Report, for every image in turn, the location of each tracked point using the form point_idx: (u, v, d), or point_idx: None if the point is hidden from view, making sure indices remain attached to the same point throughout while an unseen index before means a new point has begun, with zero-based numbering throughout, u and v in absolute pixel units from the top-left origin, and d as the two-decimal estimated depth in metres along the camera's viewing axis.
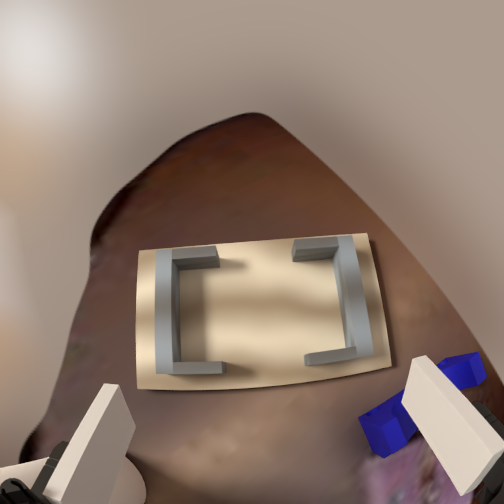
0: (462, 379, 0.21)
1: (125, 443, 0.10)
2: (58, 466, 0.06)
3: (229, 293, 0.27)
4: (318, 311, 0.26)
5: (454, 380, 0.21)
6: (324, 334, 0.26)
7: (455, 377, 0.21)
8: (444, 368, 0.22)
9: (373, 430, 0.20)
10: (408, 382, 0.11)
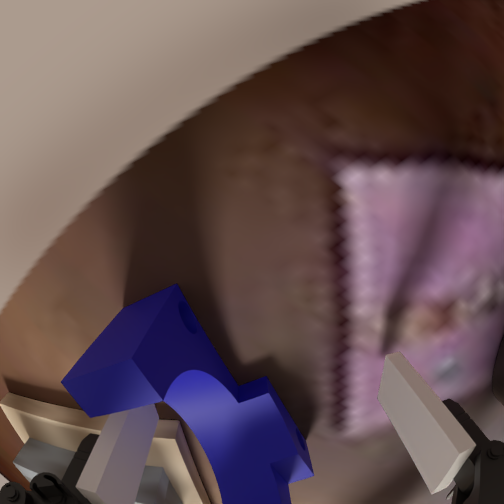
0: None
1: (150, 433, 0.11)
2: (90, 458, 0.06)
3: None
4: None
5: None
6: None
7: None
8: None
9: None
10: (382, 378, 0.12)
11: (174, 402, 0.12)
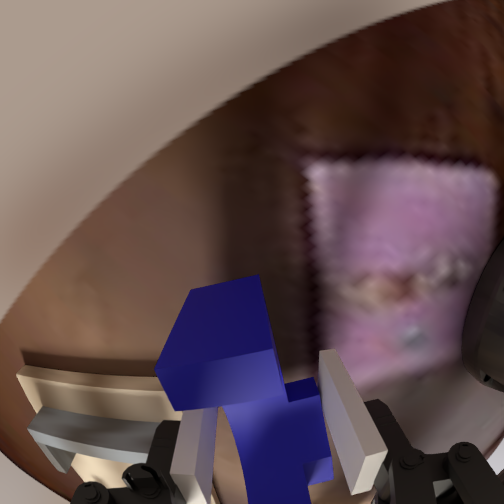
0: None
1: (215, 416, 0.12)
2: (178, 442, 0.08)
3: None
4: None
5: None
6: None
7: None
8: None
9: None
10: (319, 373, 0.13)
11: None
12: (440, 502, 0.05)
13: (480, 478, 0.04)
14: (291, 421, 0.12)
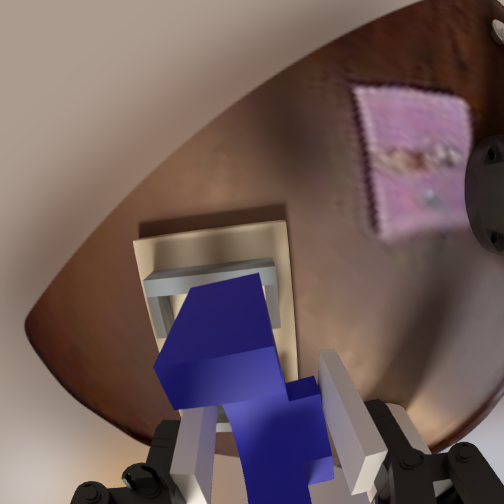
0: None
1: (215, 416, 0.12)
2: (178, 442, 0.08)
3: None
4: None
5: None
6: None
7: None
8: None
9: None
10: (319, 373, 0.13)
11: None
12: (440, 502, 0.05)
13: (480, 478, 0.04)
14: (291, 420, 0.12)
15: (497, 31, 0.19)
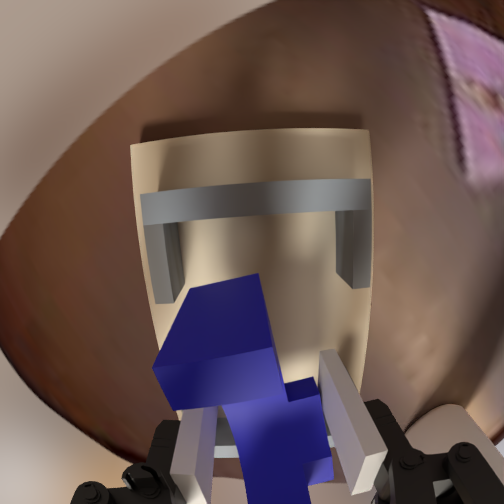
0: None
1: (215, 416, 0.12)
2: (178, 442, 0.08)
3: None
4: (270, 247, 0.17)
5: None
6: (308, 239, 0.17)
7: None
8: None
9: None
10: (319, 373, 0.13)
11: None
12: (440, 502, 0.05)
13: (480, 477, 0.04)
14: (291, 421, 0.12)
15: None
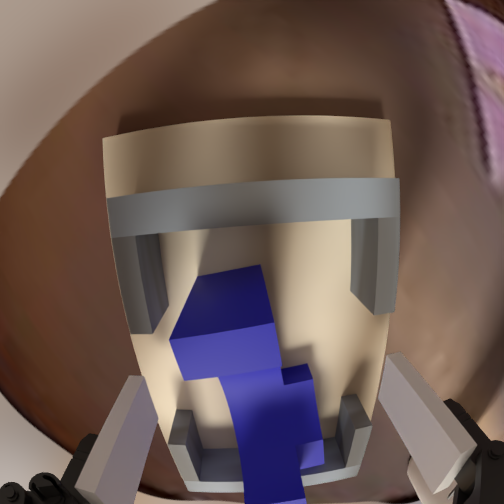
0: None
1: (149, 433, 0.11)
2: (89, 458, 0.06)
3: None
4: (272, 261, 0.14)
5: None
6: (318, 251, 0.14)
7: None
8: None
9: None
10: (383, 378, 0.12)
11: (225, 376, 0.13)
12: None
13: None
14: (286, 404, 0.14)
15: None
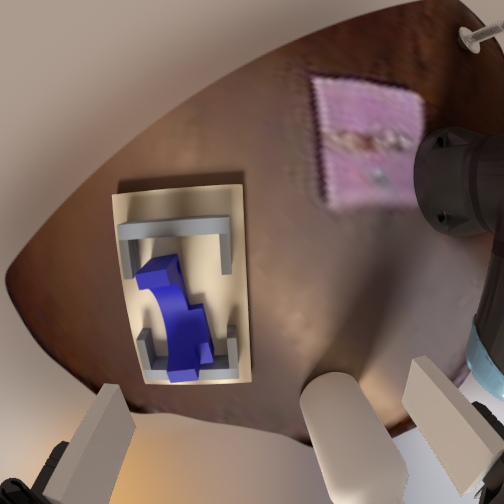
0: None
1: (125, 443, 0.10)
2: (58, 466, 0.06)
3: None
4: (184, 251, 0.30)
5: (163, 286, 0.28)
6: (205, 247, 0.31)
7: None
8: (150, 288, 0.28)
9: None
10: (408, 382, 0.11)
11: (161, 303, 0.30)
12: None
13: None
14: (190, 321, 0.31)
15: (462, 37, 0.25)
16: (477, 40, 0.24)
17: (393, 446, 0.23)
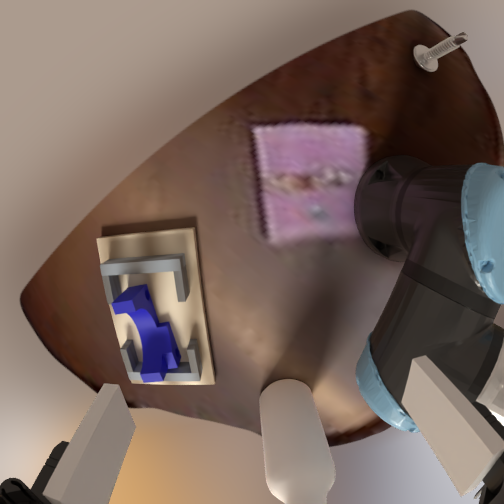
0: None
1: (125, 443, 0.10)
2: (58, 466, 0.06)
3: None
4: (153, 282, 0.38)
5: None
6: (168, 279, 0.38)
7: None
8: None
9: None
10: (408, 382, 0.11)
11: (136, 322, 0.37)
12: None
13: None
14: (158, 335, 0.38)
15: (416, 57, 0.31)
16: (432, 58, 0.30)
17: (322, 447, 0.29)
